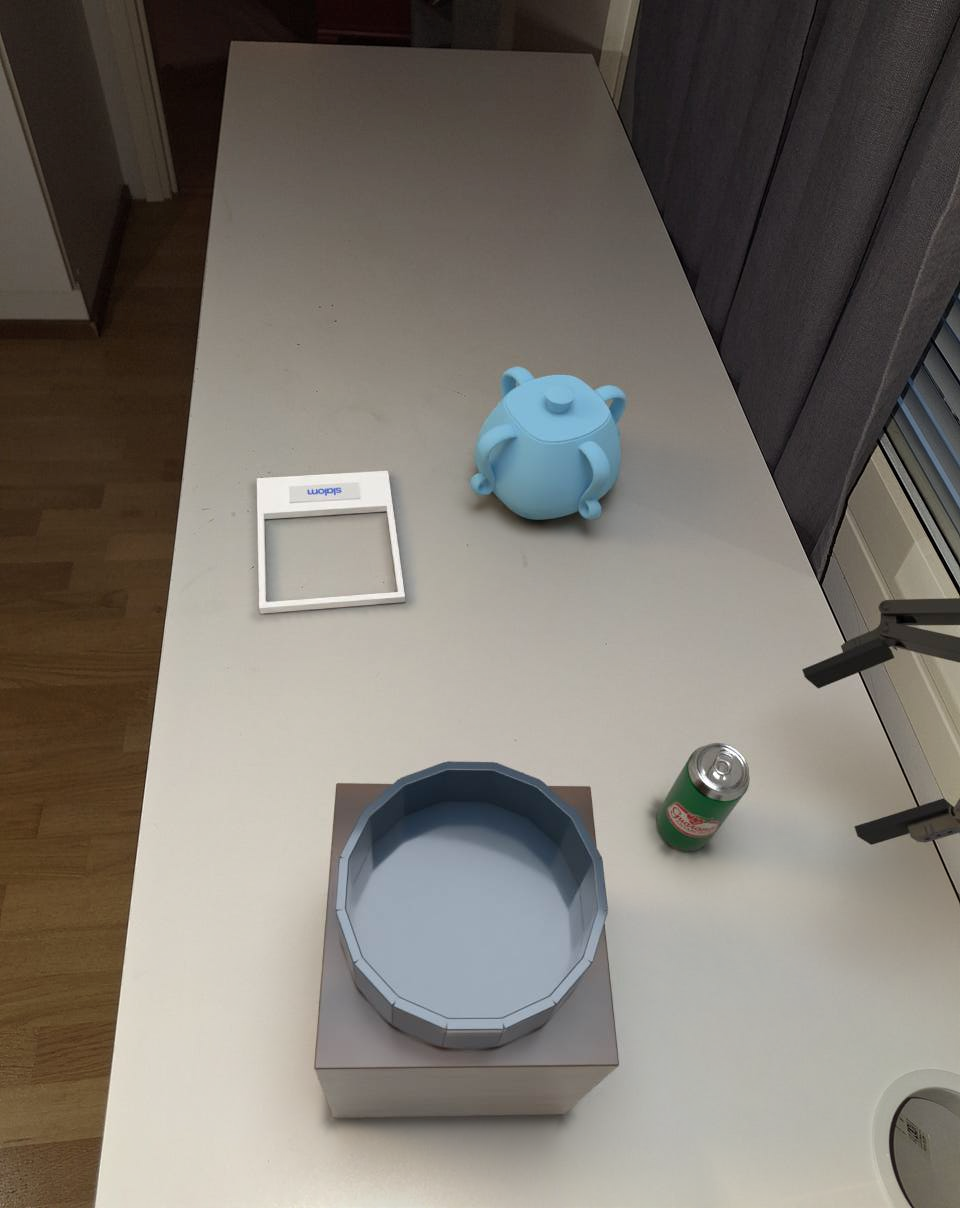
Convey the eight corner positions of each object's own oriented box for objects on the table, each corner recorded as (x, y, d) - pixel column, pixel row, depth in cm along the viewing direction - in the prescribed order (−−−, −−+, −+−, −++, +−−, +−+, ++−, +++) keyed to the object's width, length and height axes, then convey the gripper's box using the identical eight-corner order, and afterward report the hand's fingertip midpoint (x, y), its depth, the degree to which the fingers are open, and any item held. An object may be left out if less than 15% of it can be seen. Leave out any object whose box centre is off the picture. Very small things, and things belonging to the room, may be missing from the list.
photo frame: (387, 469, 103) (404, 595, 92) (387, 476, 103) (404, 601, 93) (256, 477, 100) (258, 607, 90) (257, 484, 101) (260, 613, 91)
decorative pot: (589, 554, 99) (614, 466, 88) (453, 509, 101) (461, 418, 90) (626, 459, 109) (653, 368, 98) (500, 419, 111) (513, 327, 100)
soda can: (647, 838, 80) (682, 779, 70) (665, 791, 83) (701, 728, 73) (701, 863, 79) (744, 807, 69) (717, 815, 82) (761, 754, 72)
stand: (564, 1114, 67) (619, 1065, 51) (333, 1117, 65) (313, 1069, 49) (549, 886, 77) (590, 785, 61) (348, 885, 75) (336, 782, 59)
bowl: (602, 1048, 51) (620, 1028, 47) (331, 1051, 50) (326, 1031, 46) (578, 798, 60) (592, 763, 56) (348, 795, 59) (345, 759, 55)
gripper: (1248, 835, 56) (906, 922, 66) (1065, 528, 70) (809, 639, 81) (1234, 803, 51) (868, 902, 61) (1041, 481, 65) (772, 605, 76)
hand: (834, 753), depth 71 cm, fingers open, 13 cm apart
